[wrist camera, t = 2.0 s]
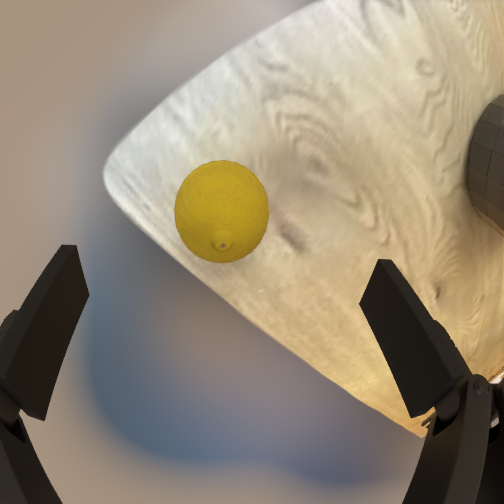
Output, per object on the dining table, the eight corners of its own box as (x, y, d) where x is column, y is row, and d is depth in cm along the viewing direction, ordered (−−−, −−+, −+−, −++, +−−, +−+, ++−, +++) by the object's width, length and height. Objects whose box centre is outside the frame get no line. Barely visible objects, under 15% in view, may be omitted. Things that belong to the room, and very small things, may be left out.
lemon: (185, 219, 22) (172, 290, 15) (180, 148, 18) (158, 193, 12) (257, 218, 22) (275, 287, 16) (261, 147, 19) (285, 190, 12)
